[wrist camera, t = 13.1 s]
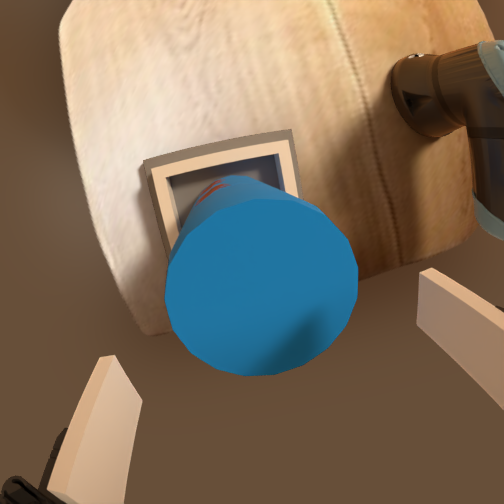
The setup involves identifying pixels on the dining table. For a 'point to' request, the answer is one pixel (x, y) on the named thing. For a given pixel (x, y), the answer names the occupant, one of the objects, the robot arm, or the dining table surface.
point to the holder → (217, 174)
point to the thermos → (258, 279)
